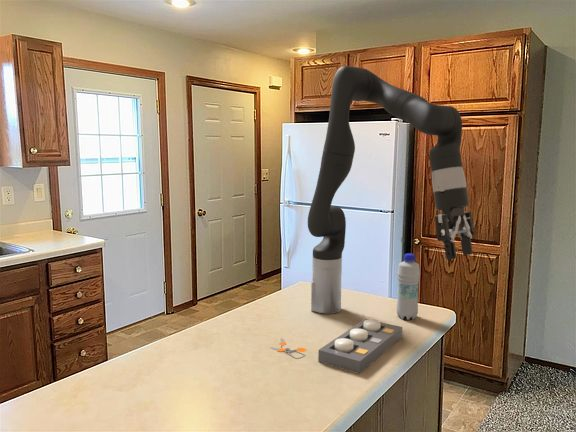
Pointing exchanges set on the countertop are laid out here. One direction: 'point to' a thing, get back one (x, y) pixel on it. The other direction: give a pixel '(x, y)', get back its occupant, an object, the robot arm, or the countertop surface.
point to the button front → (344, 345)
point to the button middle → (359, 335)
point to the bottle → (408, 287)
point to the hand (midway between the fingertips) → (459, 256)
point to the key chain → (289, 349)
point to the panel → (361, 348)
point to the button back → (372, 325)
